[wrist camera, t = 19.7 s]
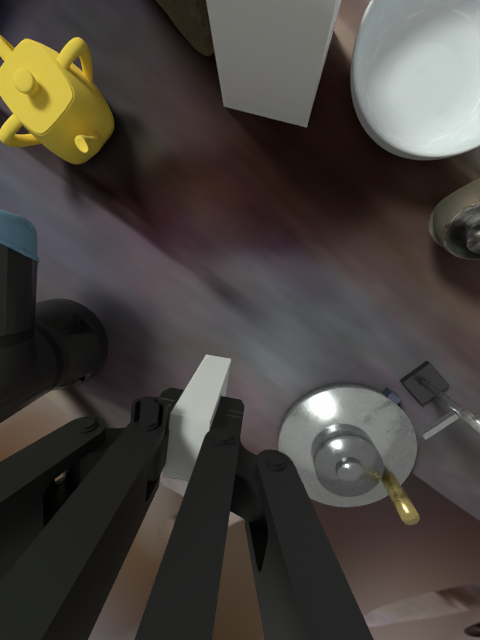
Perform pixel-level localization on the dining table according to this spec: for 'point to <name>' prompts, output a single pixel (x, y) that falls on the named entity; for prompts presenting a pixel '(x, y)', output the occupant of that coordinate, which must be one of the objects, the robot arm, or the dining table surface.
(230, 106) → the milk
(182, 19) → the canister
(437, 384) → the rod on square base
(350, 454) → the cover
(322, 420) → the turntable
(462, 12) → the serving bowl
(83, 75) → the teapot
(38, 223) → the dining table surface
